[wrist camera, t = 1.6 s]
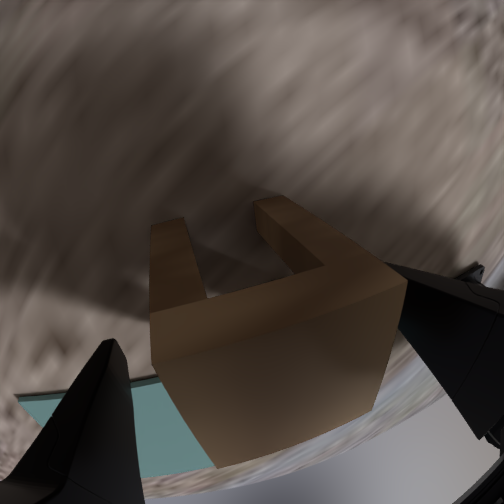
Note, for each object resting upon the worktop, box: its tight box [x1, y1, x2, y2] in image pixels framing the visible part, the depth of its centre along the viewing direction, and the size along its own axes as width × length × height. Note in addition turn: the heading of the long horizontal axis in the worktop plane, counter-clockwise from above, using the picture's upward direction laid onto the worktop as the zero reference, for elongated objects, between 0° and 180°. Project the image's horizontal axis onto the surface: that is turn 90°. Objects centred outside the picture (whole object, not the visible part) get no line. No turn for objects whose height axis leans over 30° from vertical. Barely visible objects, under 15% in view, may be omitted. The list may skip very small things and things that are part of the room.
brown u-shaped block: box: [149, 196, 408, 469], centre depth 9 cm, size 5×5×7 cm
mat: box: [18, 377, 215, 478], centre depth 15 cm, size 12×12×1 cm
